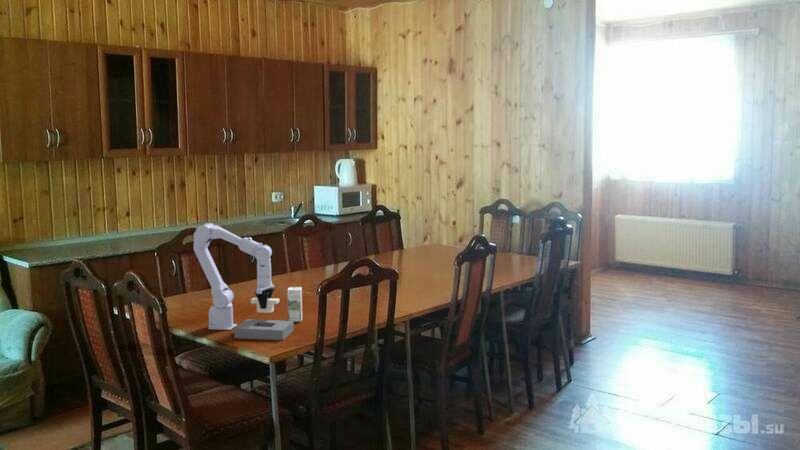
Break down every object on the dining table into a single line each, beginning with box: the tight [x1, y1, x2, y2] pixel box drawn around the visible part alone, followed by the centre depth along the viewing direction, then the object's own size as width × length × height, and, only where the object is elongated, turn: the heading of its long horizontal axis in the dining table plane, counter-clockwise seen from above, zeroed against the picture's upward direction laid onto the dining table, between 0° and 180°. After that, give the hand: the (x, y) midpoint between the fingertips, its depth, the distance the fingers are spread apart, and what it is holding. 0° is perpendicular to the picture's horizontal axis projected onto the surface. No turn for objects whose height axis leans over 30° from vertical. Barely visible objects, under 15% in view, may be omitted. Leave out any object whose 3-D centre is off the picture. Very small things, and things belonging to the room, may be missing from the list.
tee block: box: [250, 297, 280, 314], centre depth 301 cm, size 11×4×5 cm, turn 82°
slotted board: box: [233, 318, 295, 341], centre depth 293 cm, size 20×14×4 cm
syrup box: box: [286, 286, 303, 323], centre depth 313 cm, size 6×6×14 cm
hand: (265, 307), depth 301 cm, fingers closed on tee block, 4 cm apart
